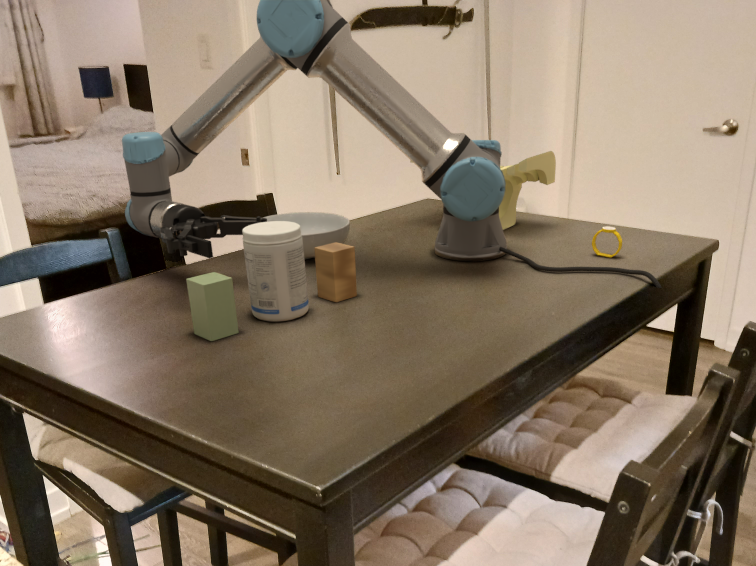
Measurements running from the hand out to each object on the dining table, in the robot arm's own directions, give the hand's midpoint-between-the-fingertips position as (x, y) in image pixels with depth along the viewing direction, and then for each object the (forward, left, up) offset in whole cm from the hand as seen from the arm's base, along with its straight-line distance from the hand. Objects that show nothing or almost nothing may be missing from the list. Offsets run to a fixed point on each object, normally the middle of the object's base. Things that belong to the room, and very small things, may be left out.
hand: (245, 241), depth 129 cm
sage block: (-1, +15, -11) cm, 19 cm away
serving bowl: (+4, -33, -11) cm, 35 cm away
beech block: (-14, -7, -11) cm, 19 cm away
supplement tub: (-7, +4, -11) cm, 14 cm away
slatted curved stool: (-29, -66, -11) cm, 73 cm away
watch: (-59, -43, -11) cm, 74 cm away
